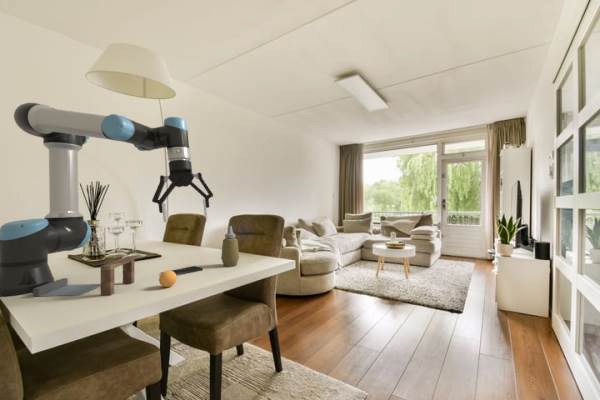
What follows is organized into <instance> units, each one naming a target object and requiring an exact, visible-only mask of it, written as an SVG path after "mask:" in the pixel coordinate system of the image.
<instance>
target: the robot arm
mask: <svg viewBox="0 0 600 400" xmlns="http://www.w3.org/2000/svg"><path fill="white" fill-rule="evenodd" d="M13 119H14V121H15V124H16V125H17V126H18V128H19V129H21V131H23V132H25V133H27V134H29V135H30V136H34V137H37V138H41V139H43V140H42V142H43V143H42V144H43V146H44V147H45V148H46V149H47V150H48V176H49V177H48V181H49V183H48V186H49V189H48V190H49V191H48V192H49V196H48V197H49V212H48V214H46V215H45V216H44V217H43V218H29V219H23V220H22V219H20V220H15V221H9V222H5V223H4V224H2V225H1V226H0V297H6V296H16V295H22V294H30V293H33V289H34V288H37V287H40V286H42V285H45V284H48V283H51V282H54V281H55V277H54V276H53V273H52V270H51V268H50V265H49V262H48V261H49V259H48V258H49V257H48V255H49V254H56V253H61V252H69V251H74V250H77V249H81V248H83V247H84V246H85V245H86V244H87V243H88V242H89V241H90V239H91V236H92V228H91V225H90V224H89V222H88V221H87V220H84V215H83V214H82V213H81V212H80V211H79V161H78V160H79V159H78V157H79V155H78V152H79V151H81V150H82V149H83V145H85V144H86V143H87V142H88V140H89V139H90V138H97V139H104V140H111V141H115V142H123V143H127V144H132V145H133V146H134V147H135V148H136V149H137V150H138V151H140V152H141V151H142V152H145V151H147V152H149V151H153V150H154V151H155V150H158V149H163V148H166V150H167V151H166V152H167V153H166V154H167V161H169V162H168V172H169V175H160V176H159V183H158V185H157V187H156V190H155V191H154V195H153V197H152V200H151V201H152V203H155V204H157V205H158V211H159V214H162V219H163V223H168V216H167V215H168V214H167V205H166V203H164V202H165V201H166V200H167V198H168V197H169V195H170V194H171V193H172V192H173V190H174V189H175V188H182V187H184V188H185V187H189V186H190V187H191V188H193V189H194V190H195V191H196V192H197V193H198V194H200V195H201V196H202V197H203V198H204V199H203V198H202V204H203V212H204V218H207V217H208V212H207V211H208V209H209V208H210V201H209V200H210V198H213V197H214V194H213V192H212V191H211V189H210V188H209V186H208V185H207V183H206V182H205V180H204V178H203V175H202V173H201V172H198V173H193V169H192V167H193V166H192V162H191V160H192V159H191V151H190V150H191V149H190V144H189V143H190V142H189V130H188V126H187V125H188V124H187V121H186V120H185V119H184V118H182V117H179V116H169V117H166V118H164V121H163V125H162V126H157V127H150V126H148V125H145V124H142V123H139V122H137V121H134V120H132V119H130V118H127V117H126V116H123V115H119V114H114V113H111V114H109V115H103V114H96V113H90V112H89V113H88V112H87V113H86V112H81V111H79V112H78V111H72V110H63V109H57V108H53V107H51V106H49V105H48V104H47V105H46V104H41V103H37V102H26V103H25V102H24V103H21V104H20V105H18V107H17V108H16V109H15V110H14V113H13ZM194 178H196V179H197V180H198V181H199V182H200V183H201V185H202V187H203V188H204V189H205V191H206V193H207V194H206V193H205V192H204V191H203V190H201V189H200V187H199V186H197V185H196V184H195V183H194V182H193V180H194ZM168 181H170V182H171V183H170V185H169V186H168V188H167V189H166V190H165V191H164V193H163V194H162V192H163V188H164V186H165V184H166V183H167V182H168ZM161 194H162V195H161ZM160 196H161V197H160ZM207 208H208V209H207Z"/></svg>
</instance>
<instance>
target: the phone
mask: <svg viewBox="0 0 600 400" xmlns="http://www.w3.org/2000/svg"><path fill="white" fill-rule="evenodd" d="M203 270H204V268H203V267H200V266H196V265H193V266H188V267H184V268H183V267H182V268H177V269H171V270H170V271H173V272H174V273H175V274H176V276H181V275H182V276H183V275H186V274H187V275H188V274H192V273H197V272H200V271H203ZM163 272H164V271H162V272H160V275H161V274H162V273H163Z"/></svg>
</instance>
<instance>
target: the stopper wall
mask: <svg viewBox="0 0 600 400" xmlns="http://www.w3.org/2000/svg"><path fill="white" fill-rule="evenodd" d="M68 282H69V279H68V278H66V277H65V278H60V279H57V280H54V282H51V283H48V284H45V285H42V286H40V287H37V288H34V289H33V292H32V298H36V297H37V298H39V297H40V296H41V295H44V294H46V293H49V292H52V291H54V290H57V289H59V288H62V287H64V286H67V285H69V283H68Z"/></svg>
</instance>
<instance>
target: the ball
mask: <svg viewBox="0 0 600 400" xmlns="http://www.w3.org/2000/svg"><path fill="white" fill-rule="evenodd" d="M162 272H163V273H162V274H161V273H160V275H159V277H158V282H159V284H160V286H162V287H164V288H169V287H172V286H174V285H175V284H176V282H177V276H176V274H175V273H174V272H173V271H171V270H164V271H162Z"/></svg>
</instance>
